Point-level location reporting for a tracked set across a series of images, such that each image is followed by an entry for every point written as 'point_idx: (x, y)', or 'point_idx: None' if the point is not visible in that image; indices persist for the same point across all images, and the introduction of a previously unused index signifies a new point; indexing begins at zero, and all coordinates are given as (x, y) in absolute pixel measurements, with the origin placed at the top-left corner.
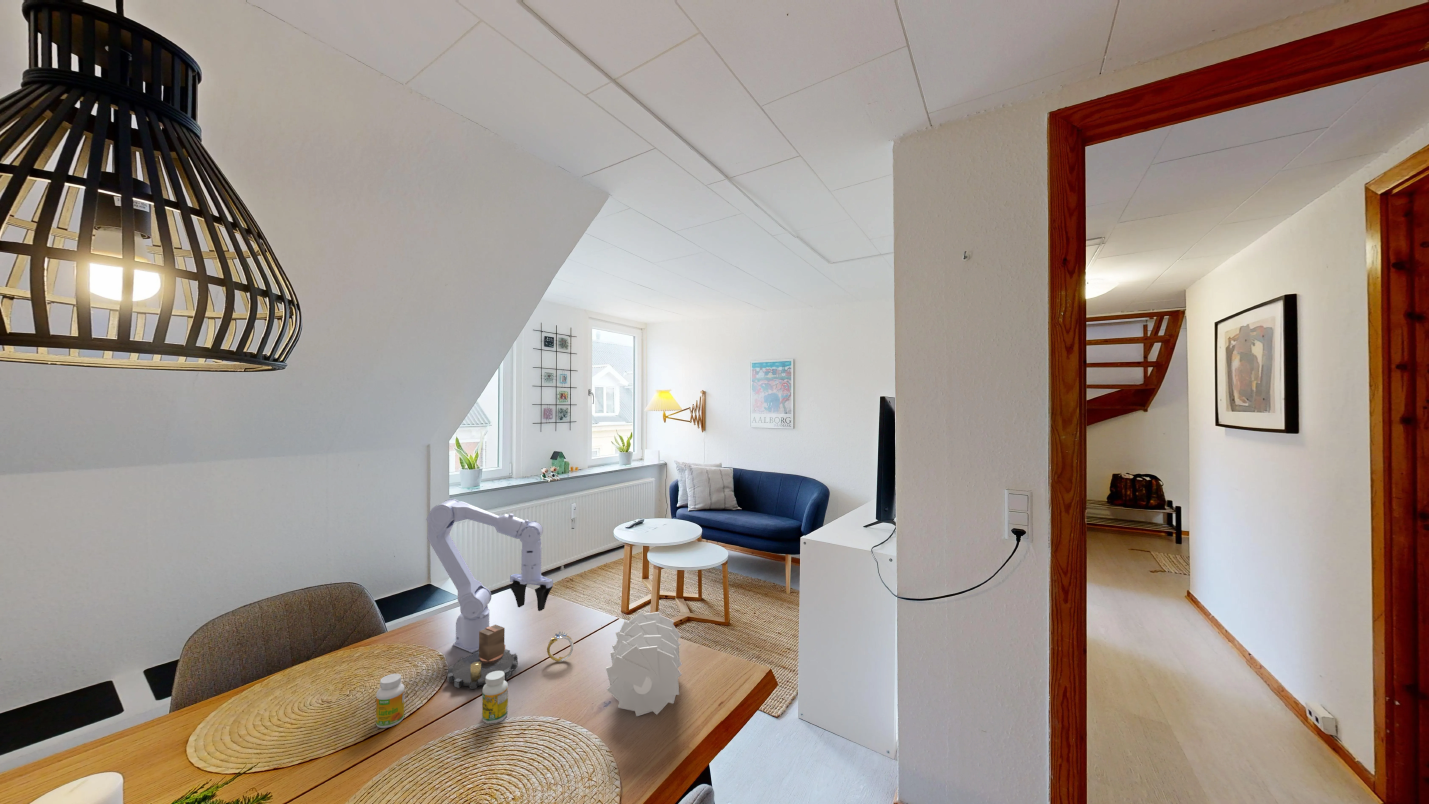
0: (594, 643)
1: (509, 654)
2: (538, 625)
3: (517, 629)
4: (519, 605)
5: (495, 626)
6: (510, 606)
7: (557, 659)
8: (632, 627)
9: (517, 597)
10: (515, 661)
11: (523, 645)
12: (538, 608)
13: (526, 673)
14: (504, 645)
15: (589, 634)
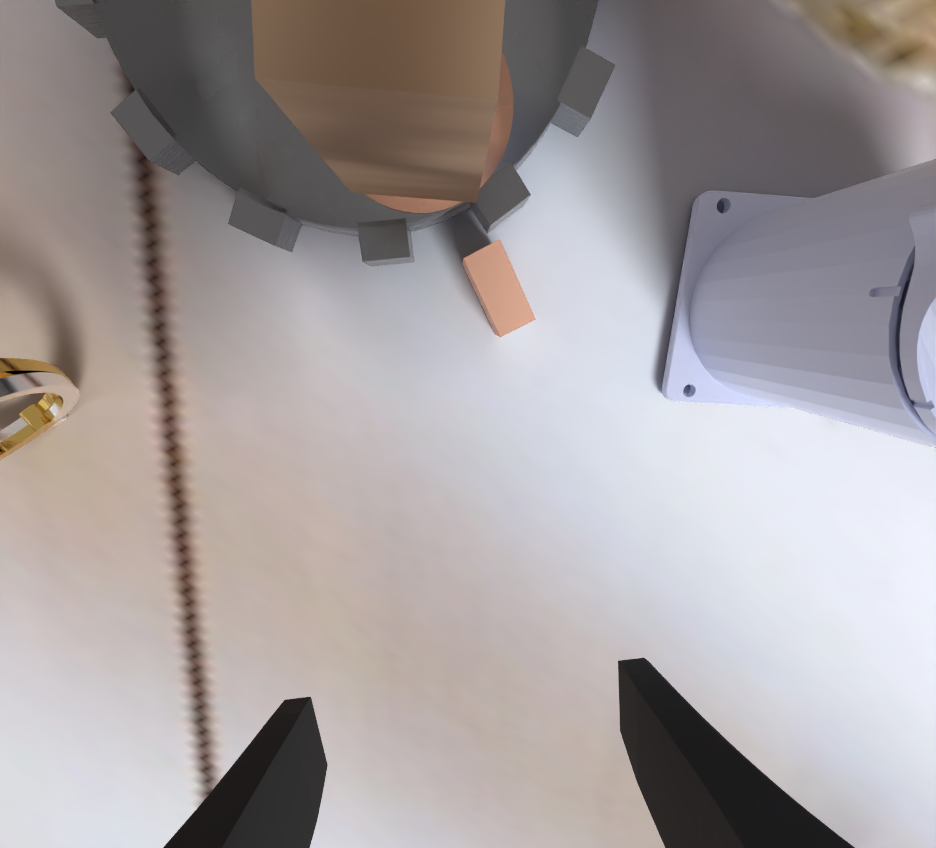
0: (81, 667)
1: (303, 206)
2: (576, 674)
3: (661, 582)
4: (628, 681)
5: (432, 39)
6: (932, 761)
7: (43, 399)
8: None
9: (709, 786)
10: (151, 138)
11: (452, 452)
12: (280, 723)
13: (99, 178)
14: (494, 322)
15: (203, 727)
